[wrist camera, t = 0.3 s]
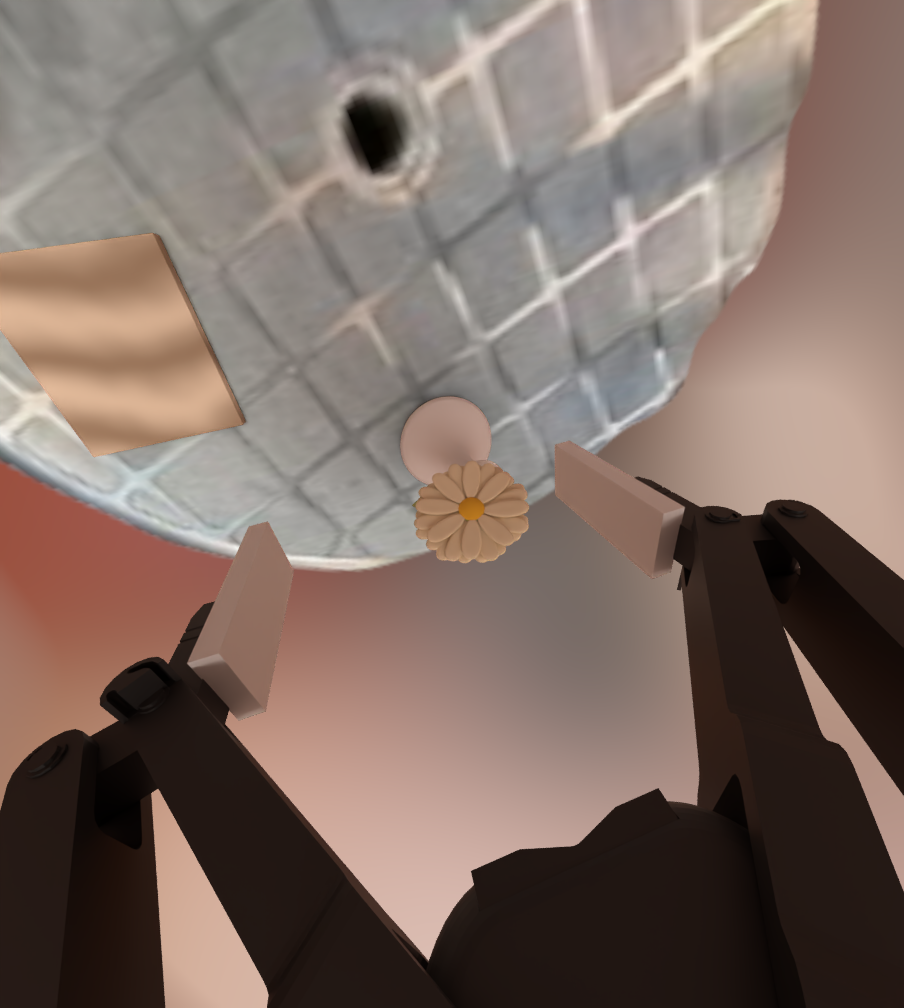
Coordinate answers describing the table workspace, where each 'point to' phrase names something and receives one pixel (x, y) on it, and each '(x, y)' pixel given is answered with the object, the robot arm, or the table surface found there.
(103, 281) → the birch board
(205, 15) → the table surface
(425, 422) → the flower in vase
